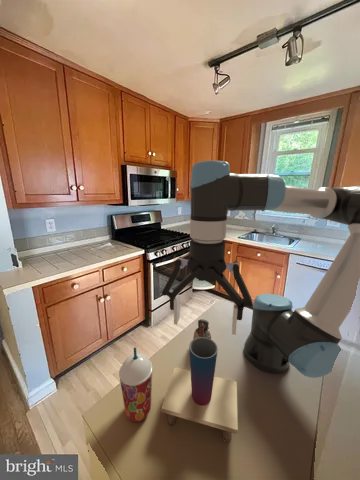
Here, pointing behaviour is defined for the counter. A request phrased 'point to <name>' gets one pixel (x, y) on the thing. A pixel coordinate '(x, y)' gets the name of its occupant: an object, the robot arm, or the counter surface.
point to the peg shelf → (213, 414)
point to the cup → (202, 368)
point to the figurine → (202, 329)
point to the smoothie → (136, 386)
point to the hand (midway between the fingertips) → (204, 325)
